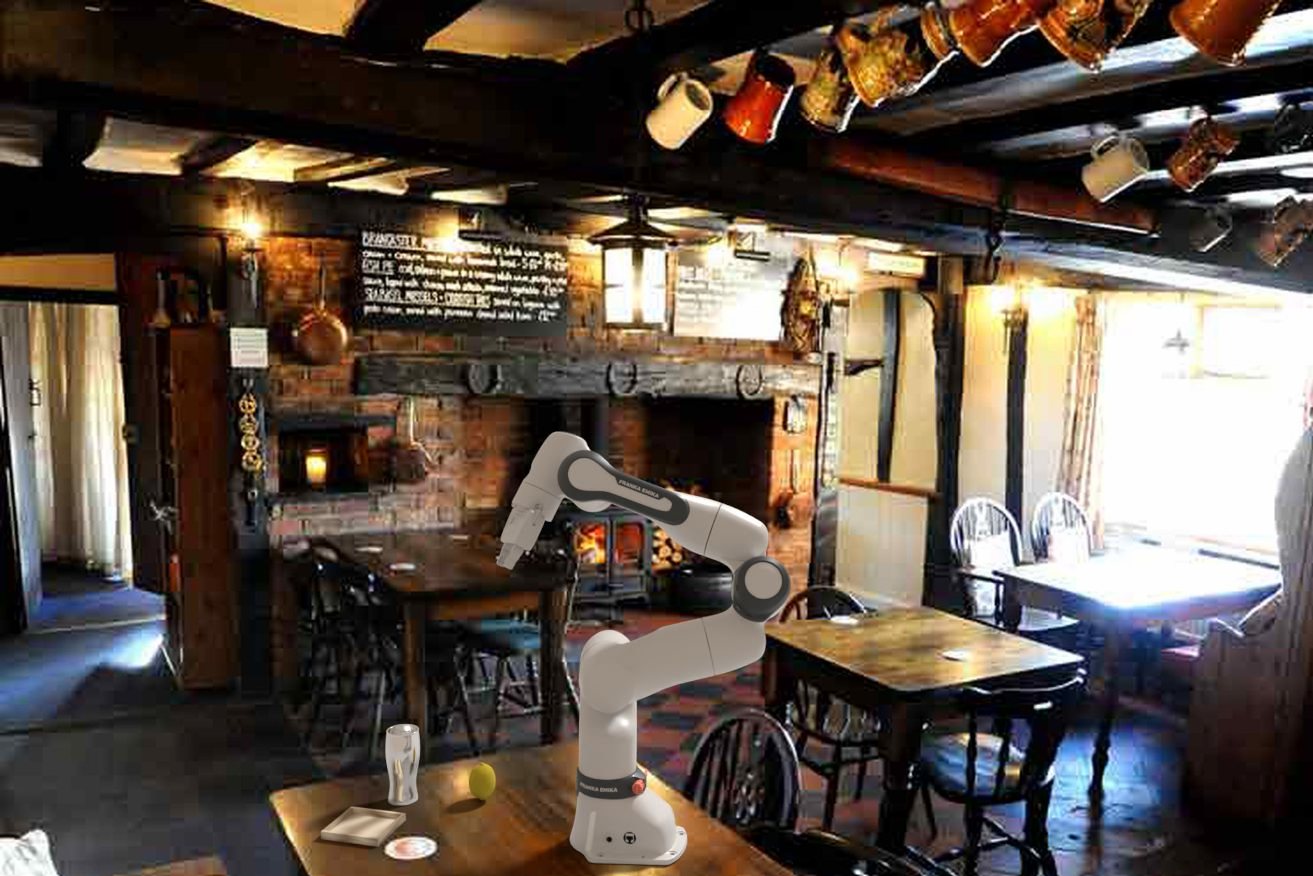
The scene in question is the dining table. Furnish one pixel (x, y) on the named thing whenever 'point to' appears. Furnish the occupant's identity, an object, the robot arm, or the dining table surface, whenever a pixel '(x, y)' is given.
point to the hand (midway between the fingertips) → (503, 567)
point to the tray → (363, 826)
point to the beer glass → (402, 763)
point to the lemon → (482, 781)
